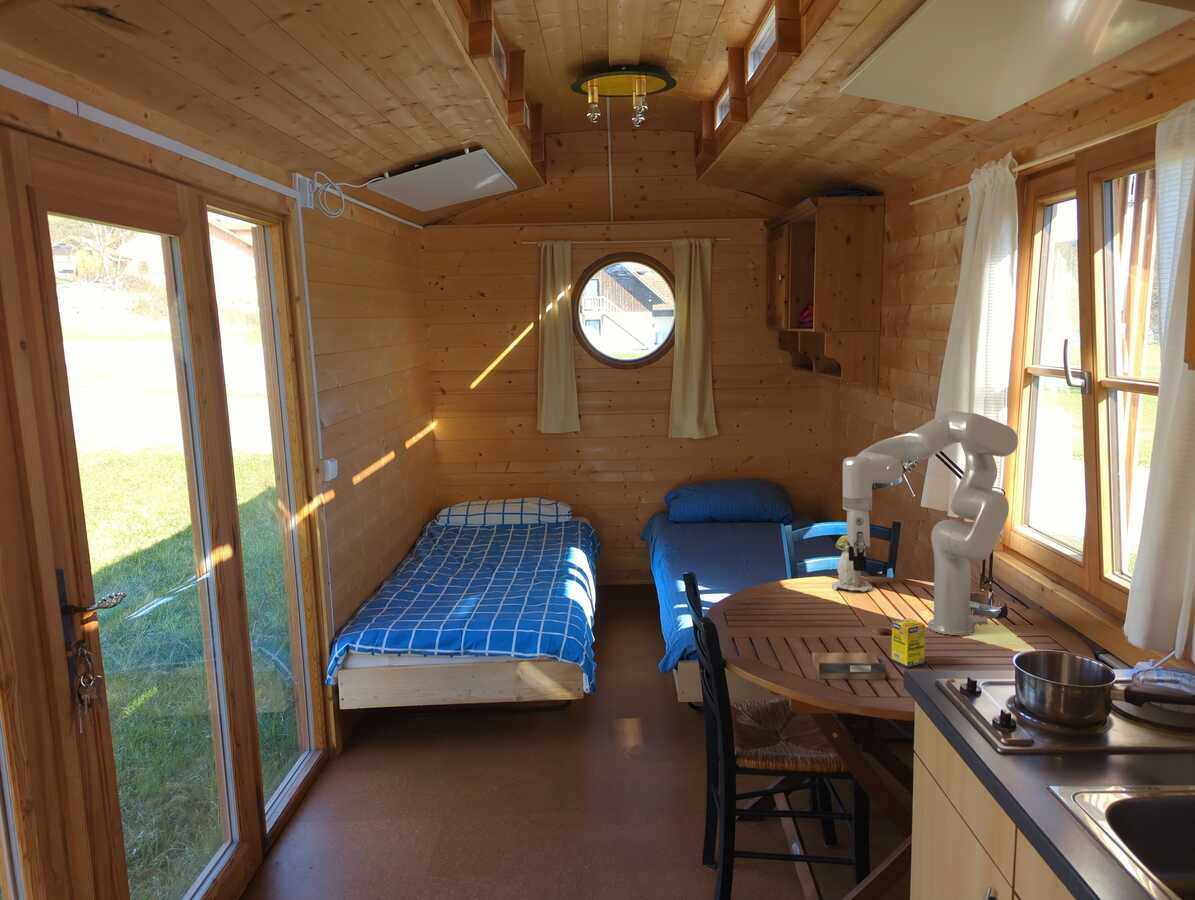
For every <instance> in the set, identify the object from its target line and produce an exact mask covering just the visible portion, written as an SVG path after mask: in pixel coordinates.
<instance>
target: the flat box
mask: <svg viewBox="0 0 1195 900" xmlns="http://www.w3.org/2000/svg"><path fill="white" fill-rule="evenodd" d="M811 659H812V662H813V664H814V668H815V670H816V671H815V672H816V673H817V678H818V679H819V680H877V681H878V680H879V681H880V680H881V681H883V680H885V681H886V663H885V662H880V661H879V660H878V657H877V656H876V654H875V652H812V653H811Z"/></svg>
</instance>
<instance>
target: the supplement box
mask: <svg viewBox="0 0 1195 900" xmlns="http://www.w3.org/2000/svg"><path fill="white" fill-rule="evenodd" d="M925 639H926V624H925V623H923V622H920V621H919V620H916V619H913V618H910V617H909V618H905V619H900V620H894V621H892V622H891V662H892V663H895V664H897V665H899V666H901V667H903V668H905V669H910V668H913V667H918V666H923V665H925V653H926V651H925V650H926V649H925V648H926V641H925Z"/></svg>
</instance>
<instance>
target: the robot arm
mask: <svg viewBox="0 0 1195 900" xmlns="http://www.w3.org/2000/svg"><path fill="white" fill-rule="evenodd" d="M956 443H960V445H961V449H962V450H963V452H964V453H963V454H964V456H965V468H964V471H963V474H962V476H961V478H960V481H959V484H958V485H957V488H956V490H955V491H954V494H953V497H952V500H951V503H950V509H951V512H952V513H953V514H954V515H955V516H958V517H959V518H962V519H965V520H969V521H973V523H972V524H969V523H967V522H964V521H959V520H955V519H944V520H940V521H939V522H937V523H935V525H934V526H933V528H932V530H931V535H930V540H931V546H932V550H933V561H934V576H933V577H934V579H933V580H934V583H933V585H934V586H933V587H934V589H933V619H930V620H929V621H928V622H927V627H929V628H928V629H931V631H932V630H933V631H932V632H934V631H935V632H934V633H936V632H938V634H940V633H942V634H941V635H944V634H950V635H949V636H951V635H964V636H967V635H966V634H970V633H972V634H974V633H975V632H976V625H988V624H989V623H988V621H989V619H988V617H986V616H985V617H984V616H982V617H981V615H975V614H974V615H973V614H971V613H970V612H971V578H972V577H971V574H972V573H971V571H972V569H971V564H970V561H972V562H973V561H974V562H982V561H984V560H986V559H987V558H988V557H990V555H991V554H992V552H993V551H994V548H995V547H996V544H997V542H998V541H999V538H1000V535H1001V533H1002V531H1003V529H1004V526H1005V524H1006V522H1007V519H1008V516H1009V511H1010V507H1009V506H1010V504H1009V500H1008V498H1007V497H1006V496H1005V494H1004V493H1002V492H1000V491H997V490H994V489H993V488H994V485H995V482H996V480H997V476H998V467H997V463H996V460H995V457H1001V458H1002V457H1007V456H1010V455H1011V454H1013V453H1014V452H1015V451H1016V449H1017V447H1018V446H1019V445H1018V444H1019V438H1018V434H1017V432H1016V431H1015V430H1014V429H1013V428H1012V427H1011V426H1008V425H1006V424H1004V423H1003V422H1002V423H1001V422H999V421H996V420H994V419H992V418H989V417H986V416H984V415H981V414H979V413H975V412H966V411H965V412H964V411H955V410H954V411H953V410H952V411H951V410H950V411H947V412H944V413H941V414H940V415H938V416H936V417H935V418H933V419H931V420H929V421H927V422H926V423H925V424H922V425H921V426H919V427H917V428H916V429H914V430H912V431H908V432H906V433H901V434H898V435H896V436H892V437H889V438H886V439H882V440H880V441H878V442H875V443H873V444H871V445H870V446H868V447H866V448H864V449H863V450H862V451H860V452H859V453H858V454H857V455H856V456H848V457H846V458H844V459H843V461H842V509H843V510H845V511H846V535H847V537H848V541H849V561H853V570H854V571H861V572H865V571H866V570H867V555H866V554H867V553H866V547H867V548H870V546H871V537H870V535H871V534H870V532H871V531H870V530H871V529H870V528H871V527H870V514H869V511H871V510H872V509H873V484H891V483H895V482H896V481H898V480H899V479H900V478H901V477H902V475H903V472H904V466H903V463H902V462H913V461H922V460H926V459H929V458H931V457H933V456H934V455H937V454H938V453H940V452H941V451H943V450H945V449H946V448H948V447H950V446H952V445H953V444H956ZM917 457H918V458H917ZM974 631H975V632H974ZM973 632H974V633H973ZM970 635H971V634H970Z"/></svg>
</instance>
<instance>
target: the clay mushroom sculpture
mask: <svg viewBox="0 0 1195 900" xmlns="http://www.w3.org/2000/svg"><path fill="white" fill-rule="evenodd" d="M835 548H836V549H839V550H841V551H842V552H841V555H840V558H839V559H838V562H837V563H836V565H837V570H836V571H837V573H838V579H837V581H832V583H831V588H832V590H837V589H843V590H844V589H845V590H849V591H851V592H855V591H860V592H862V593H864V592H868V591H870V592H871V591H872V590H873V585H872V584H871V583H869V581H865V580H861V578H862V573H861V572H862V571H854V570H853V561H849V541H848V537H847V534H845V535H841V536H840V537H839V538H838V540H837V541H836V543H835Z"/></svg>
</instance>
